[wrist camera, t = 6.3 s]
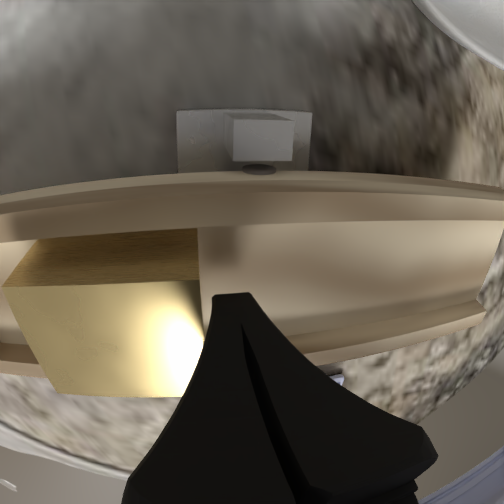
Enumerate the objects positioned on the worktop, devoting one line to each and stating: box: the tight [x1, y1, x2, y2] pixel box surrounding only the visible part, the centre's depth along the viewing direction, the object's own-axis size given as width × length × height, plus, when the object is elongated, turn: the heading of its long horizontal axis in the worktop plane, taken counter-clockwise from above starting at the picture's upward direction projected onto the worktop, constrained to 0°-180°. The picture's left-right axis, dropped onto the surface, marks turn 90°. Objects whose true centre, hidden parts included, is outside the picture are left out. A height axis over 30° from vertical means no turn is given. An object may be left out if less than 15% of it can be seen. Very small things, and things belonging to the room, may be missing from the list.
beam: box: [0, 164, 504, 378], centre depth 12 cm, size 8×28×3 cm, turn 88°
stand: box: [176, 108, 312, 173], centre depth 14 cm, size 12×6×5 cm, turn 178°
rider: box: [2, 228, 205, 397], centre depth 10 cm, size 5×6×3 cm
